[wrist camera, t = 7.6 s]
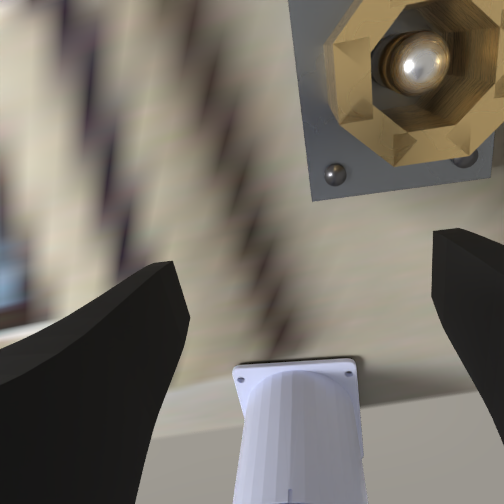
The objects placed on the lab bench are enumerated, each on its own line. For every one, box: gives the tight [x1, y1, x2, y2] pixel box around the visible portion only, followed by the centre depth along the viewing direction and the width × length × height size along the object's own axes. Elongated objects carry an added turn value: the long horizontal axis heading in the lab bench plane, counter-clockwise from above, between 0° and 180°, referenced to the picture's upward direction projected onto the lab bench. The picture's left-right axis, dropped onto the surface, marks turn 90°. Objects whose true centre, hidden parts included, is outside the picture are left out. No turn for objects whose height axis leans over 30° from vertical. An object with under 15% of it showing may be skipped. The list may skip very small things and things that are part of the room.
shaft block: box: [288, 0, 495, 202], centre depth 14 cm, size 11×8×5 cm
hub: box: [323, 0, 504, 167], centre depth 14 cm, size 6×6×5 cm
